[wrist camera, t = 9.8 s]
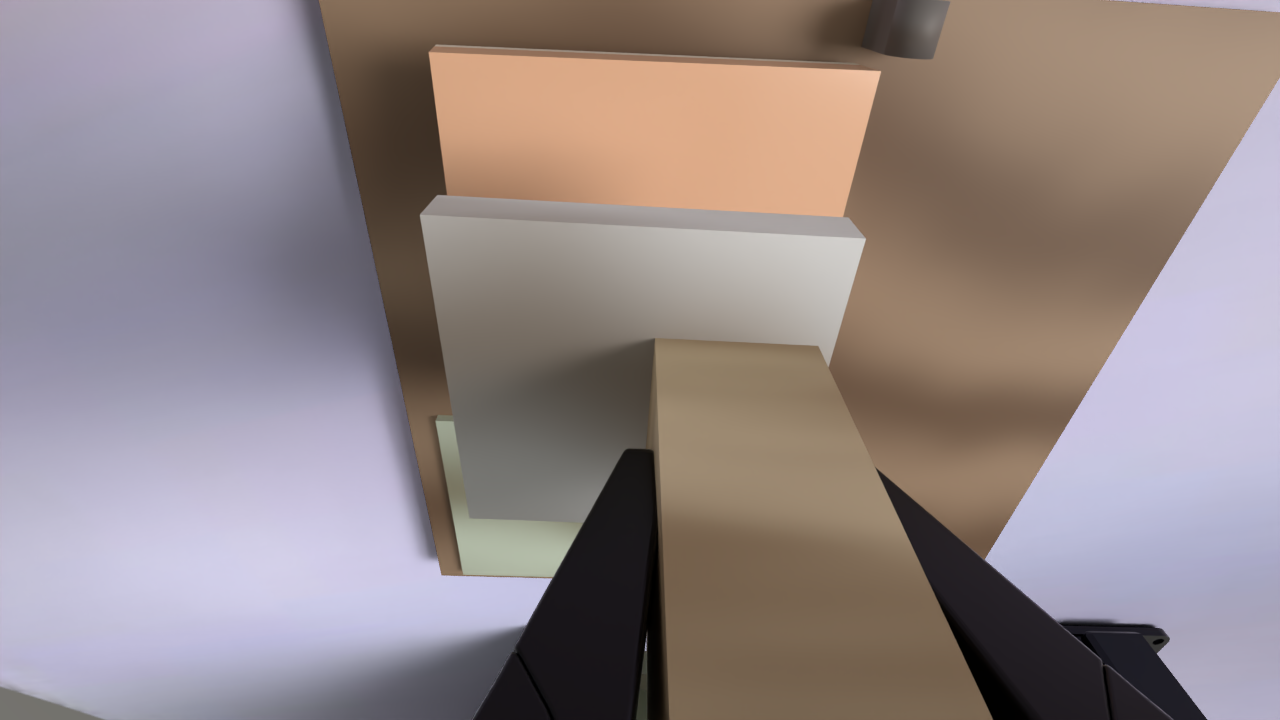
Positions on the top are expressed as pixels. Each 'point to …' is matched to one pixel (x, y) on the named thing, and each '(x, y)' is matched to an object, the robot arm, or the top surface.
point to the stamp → (696, 443)
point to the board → (871, 209)
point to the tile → (651, 128)
